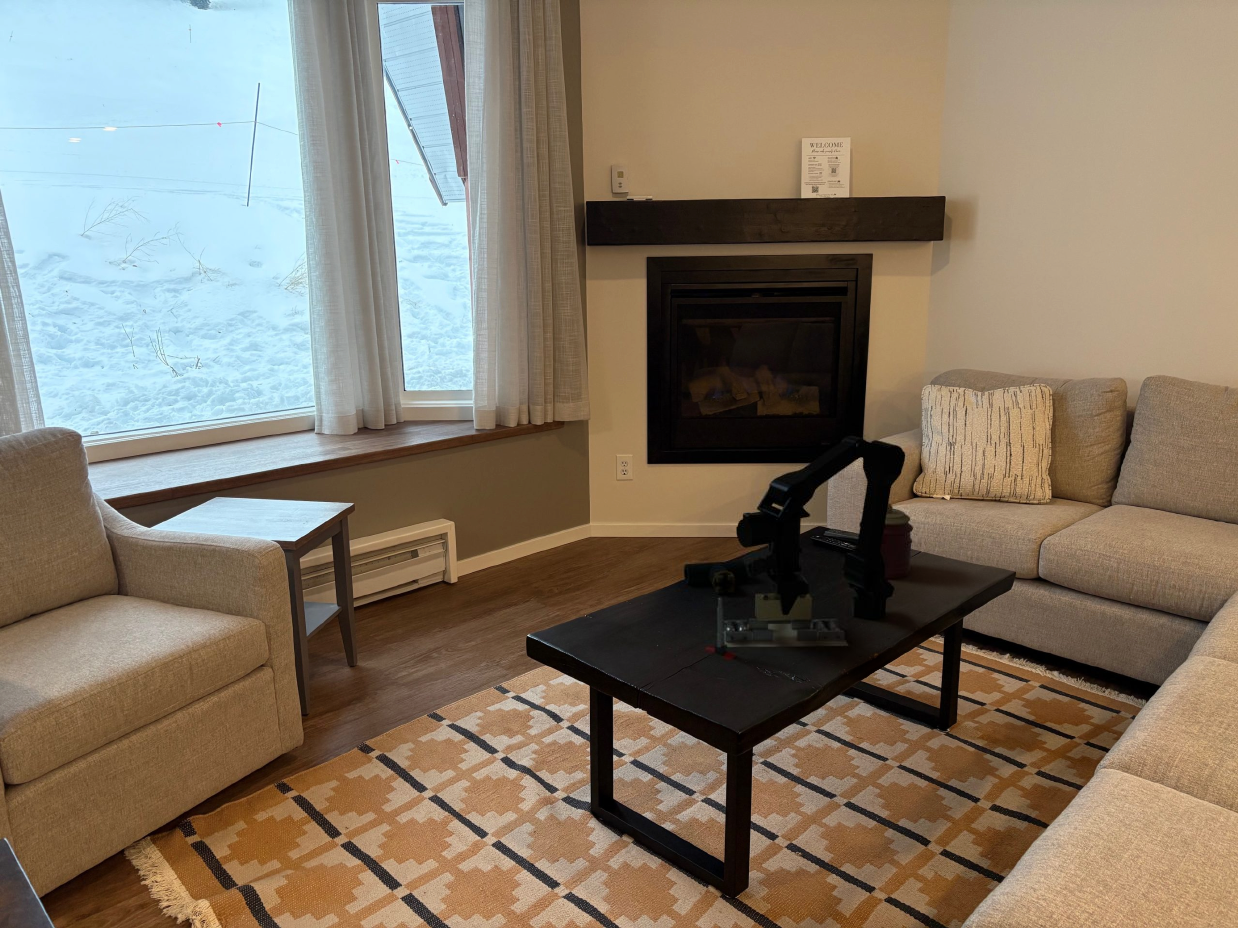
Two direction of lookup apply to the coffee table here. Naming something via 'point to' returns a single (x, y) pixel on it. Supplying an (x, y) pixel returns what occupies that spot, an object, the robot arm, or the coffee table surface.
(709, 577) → the pipe connector
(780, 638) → the board
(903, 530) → the canister
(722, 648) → the gray post stand
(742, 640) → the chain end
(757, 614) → the tapered knobbed panel
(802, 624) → the chain end
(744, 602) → the coffee table surface
